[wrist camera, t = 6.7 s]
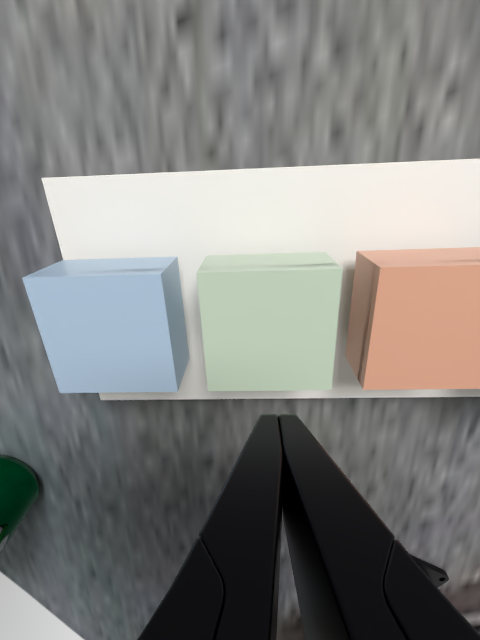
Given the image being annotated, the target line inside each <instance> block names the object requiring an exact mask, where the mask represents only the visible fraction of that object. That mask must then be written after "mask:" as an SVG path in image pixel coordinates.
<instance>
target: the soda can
mask: <svg viewBox="0 0 480 640" xmlns="http://www.w3.org/2000/svg"><path fill="white" fill-rule="evenodd" d="M38 495H39V483H38V479H37V476H36V475H35V473H34V472H33V470H32V469H31V468H30V467H29V466H27V465H26V464H25V463H23V462H21V461H19V460H17V459H15V458H12V457H9V456H4V455H0V553H1V552H2V550H3V549H4V547H5V546H6V544H7V543H8V541H9V540H10V538H11V537H12V535H13V534H14V532H15V531H16V529H17V528H18V526H19V525H20V523H21V522H22V520H23V519H24V517H25V516H26V514H27V513H28V511H29V510H30V508H31V507H32V505H33V504H34V502H35V501H36V499H37V498H38Z"/></svg>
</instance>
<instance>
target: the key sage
mask: <svg viewBox="0 0 480 640" xmlns="http://www.w3.org/2000/svg"><path fill="white" fill-rule="evenodd" d="M342 271H343V268H342V267H341V266H340V265H339V264H338V263H337V262H336V261H335V260H334V259H333V258H332V257H331V256H330V255H329V254H328V253H327V252H303V253H271V254H239V255H207V256H206V257H205V259H204V261H203V262H202V264H201V266H200V267H199V269H198V271H197V273H196V274H197V285H198V295H199V305H200V315H201V326H202V336H203V346H204V357H205V367H206V377H207V387H208V391H301V390H331V389H332V378H333V367H334V357H335V346H336V335H337V324H338V314H339V303H340V292H341V282H342Z"/></svg>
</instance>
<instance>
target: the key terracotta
mask: <svg viewBox="0 0 480 640" xmlns="http://www.w3.org/2000/svg"><path fill="white" fill-rule="evenodd" d="M345 356H346V358H347V360H348V362H349V364H350V366H351V368H352V370H353V372H354V373H355V375H356V377H357V379H358V381H359V383H360V385H361V387H362V389H363V390H403V389H480V247H467V248H434V249H402V250H370V251H357V253H356V262H355V271H354V280H353V289H352V299H351V308H350V317H349V326H348V335H347V344H346V354H345Z"/></svg>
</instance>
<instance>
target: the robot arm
mask: <svg viewBox="0 0 480 640" xmlns="http://www.w3.org/2000/svg"><path fill="white" fill-rule="evenodd" d="M282 511H283V519H284V525H285V531H286V536H287V542H288V547H289V553H290V558H291V564H292V569H293V575H294V580H295V586H296V591H297V597H298V602H299V608H300V613H301V619H302V624H303V630H304V635H305V640H480V634H479V633H478V632H477V631H476V630H475V629H474V628H473V626H472V625H471V624H470V623H469V622H468V621H467V620H466V619H465V618H464V617H463V616H462V614H461V613H460V612H459V611H458V610H457V609H456V608H455V607H454V606H453V605H452V604H451V602H450V601H449V600H448V599H447V598H446V597H445V596H444V595H443V594H442V593H441V591H440V590H439V589H438V588H437V587H439V586H441V585H442V584H444V583H445V582H447V581H448V580H449V578H448V575H447V573H446V571H444V570H442V569H440V568H438V567H435V566H433V565H431V564H429V563H427V562H424V561H422V560H420V559H418V558H416V557H413V556H411V555H409V553H408V552H407V551H406V550H405V548H404V547H403V546H402V545H401V543H400V542H399V541H398V540H394V535H393V534H392V532H391V531H390V530H389V529H388V528H387V526H386V525H385V524H384V523H383V521H382V520H381V519H380V518H379V516H378V515H377V514H376V513H375V511H374V510H373V509H372V508H371V507H370V505H369V504H368V503H367V502H366V500H365V499H364V498H363V497H362V495H361V494H360V493H359V492H358V491H357V489H356V488H355V487H354V486H353V484H352V483H351V482H350V481H349V479H348V478H347V477H346V476H345V474H344V473H343V472H342V471H341V470H340V468H339V467H338V466H337V465H336V463H335V462H334V461H333V460H332V458H331V457H330V456H329V455H328V453H327V452H326V451H325V450H324V449H323V447H322V446H321V445H320V444H319V442H318V441H317V440H316V439H315V437H314V436H313V435H312V434H311V432H310V431H309V430H308V429H307V428H306V426H305V425H304V424H303V423H302V421H301V420H300V419H299V418H298V416H297V415H295V414H280V415H279V416H277V415H276V414H262V415H260V417H259V419H258V421H257V422H256V424H255V426H254V428H253V430H252V432H251V434H250V436H249V438H248V440H247V442H246V444H245V446H244V448H243V450H242V452H241V454H240V456H239V457H238V459H237V461H236V463H235V465H234V467H233V469H232V471H231V473H230V475H229V477H228V479H227V481H226V483H225V485H224V487H223V489H222V491H221V492H220V494H219V496H218V498H217V500H216V502H215V504H214V506H213V508H212V510H211V512H210V514H209V516H208V518H207V520H206V522H205V524H204V526H203V527H202V529H201V531H200V533H199V538H197V539H196V541H195V543H194V545H193V546H192V548H191V550H190V552H189V554H188V556H187V558H186V560H185V562H184V564H183V565H182V567H181V569H180V571H179V573H178V574H177V576H176V578H175V580H174V582H173V583H172V585H171V587H170V589H169V591H168V592H167V594H166V595H165V597H164V599H163V600H162V602H161V603H160V605H159V607H158V608H157V610H156V611H155V613H154V615H153V616H152V618H151V619H150V621H149V623H148V624H147V626H146V627H145V629H144V630H143V632H142V634H141V635H140V637H139V638H138V640H276V634H277V613H278V592H279V570H280V549H281V528H282Z"/></svg>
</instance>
